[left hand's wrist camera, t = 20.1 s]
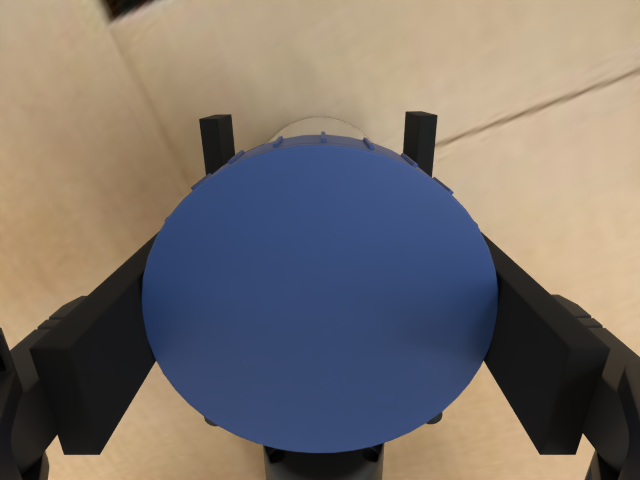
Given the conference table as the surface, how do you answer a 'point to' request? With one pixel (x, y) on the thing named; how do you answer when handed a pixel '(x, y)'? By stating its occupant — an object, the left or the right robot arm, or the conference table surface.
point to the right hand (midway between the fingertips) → (318, 115)
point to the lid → (319, 295)
